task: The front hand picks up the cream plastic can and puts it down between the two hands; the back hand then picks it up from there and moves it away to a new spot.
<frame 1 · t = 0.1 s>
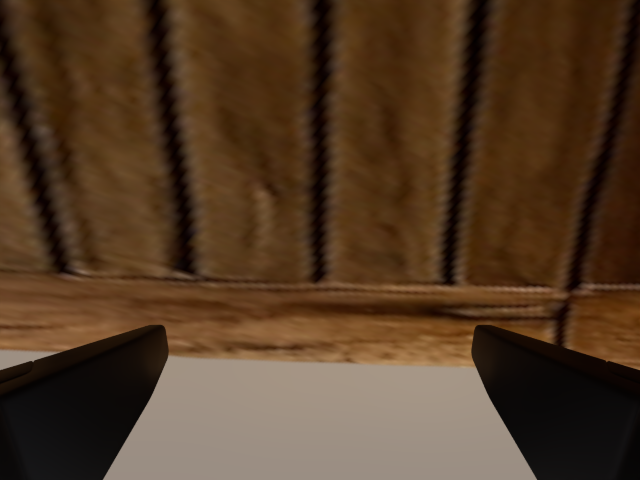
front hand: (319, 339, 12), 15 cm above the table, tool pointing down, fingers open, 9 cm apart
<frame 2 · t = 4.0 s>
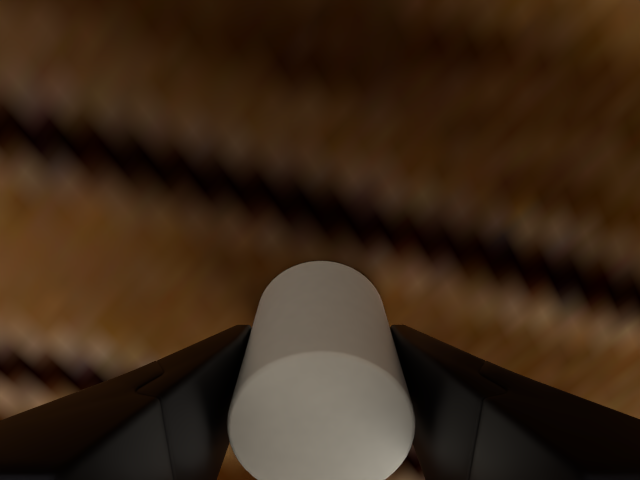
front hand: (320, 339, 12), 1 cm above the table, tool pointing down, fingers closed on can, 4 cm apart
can: (320, 317, 13), on the table, touching front hand
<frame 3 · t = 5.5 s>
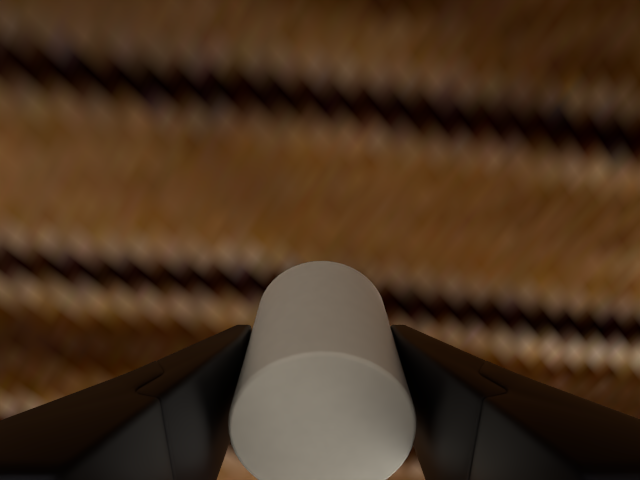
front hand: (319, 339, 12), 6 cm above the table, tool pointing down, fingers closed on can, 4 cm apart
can: (321, 317, 13), point 5 cm above the table, touching front hand
when the front hand's fingers open (2 cm above the table, at t = 7.3 s): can drops 1 cm, on the table.
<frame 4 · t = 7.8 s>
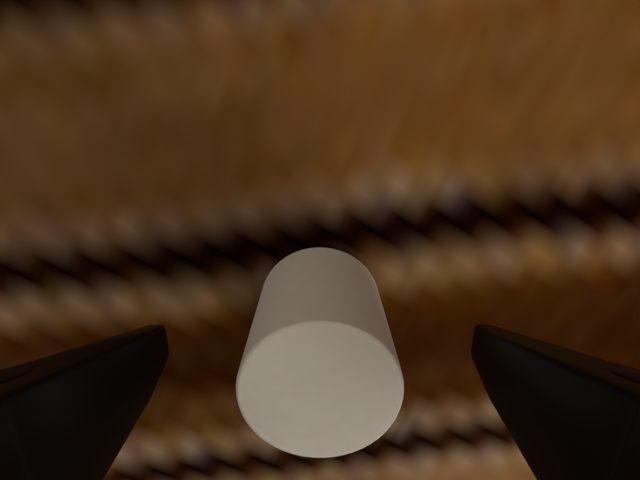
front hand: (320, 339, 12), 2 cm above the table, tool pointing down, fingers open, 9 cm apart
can: (319, 300, 14), on the table
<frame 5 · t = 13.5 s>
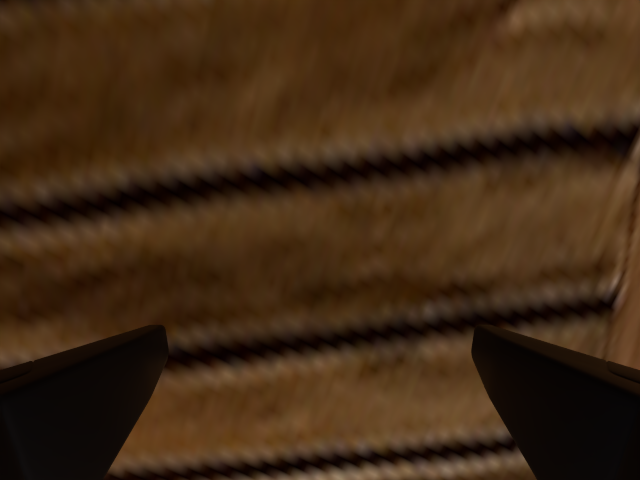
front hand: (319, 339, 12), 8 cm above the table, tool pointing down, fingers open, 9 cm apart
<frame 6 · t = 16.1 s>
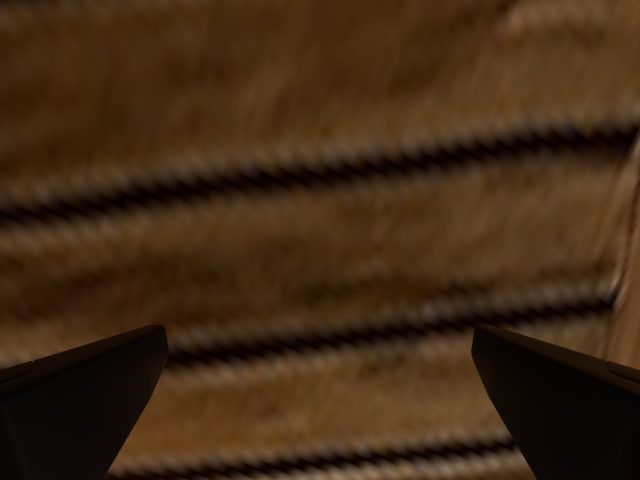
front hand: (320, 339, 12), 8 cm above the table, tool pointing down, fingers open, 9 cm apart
when the back hand's fingers open (3 cm above the table, at t = 18.5 s): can drops 1 cm, on the table.
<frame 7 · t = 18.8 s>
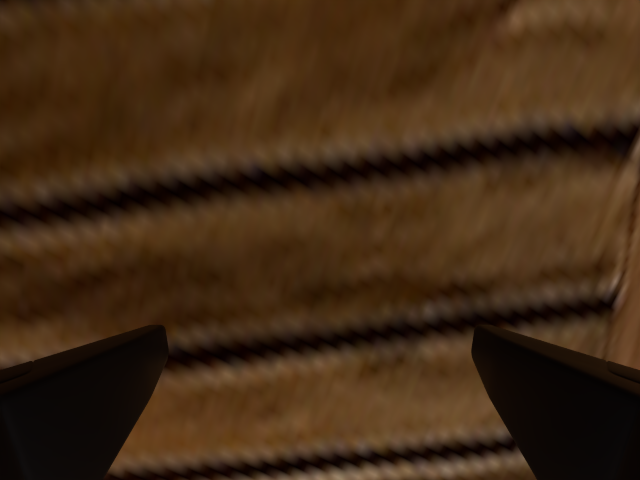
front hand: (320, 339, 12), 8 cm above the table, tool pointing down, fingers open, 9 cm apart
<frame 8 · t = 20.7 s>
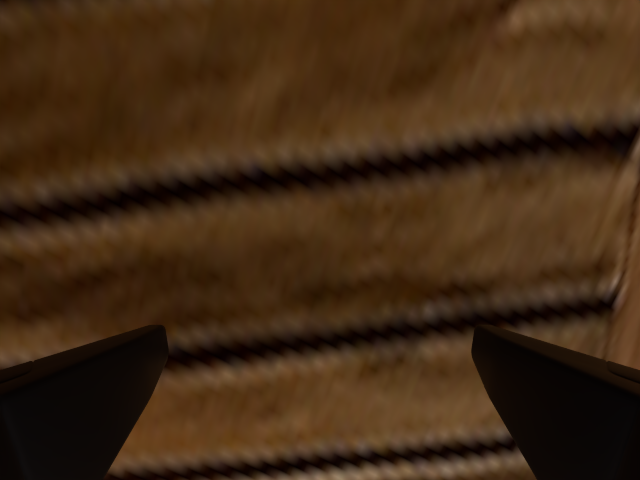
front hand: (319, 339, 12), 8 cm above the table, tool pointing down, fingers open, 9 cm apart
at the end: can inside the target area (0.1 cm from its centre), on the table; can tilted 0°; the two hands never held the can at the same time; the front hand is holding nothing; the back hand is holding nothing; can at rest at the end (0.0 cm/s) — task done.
